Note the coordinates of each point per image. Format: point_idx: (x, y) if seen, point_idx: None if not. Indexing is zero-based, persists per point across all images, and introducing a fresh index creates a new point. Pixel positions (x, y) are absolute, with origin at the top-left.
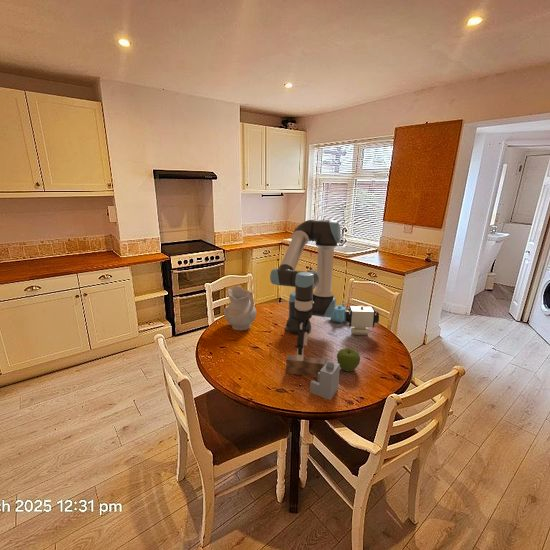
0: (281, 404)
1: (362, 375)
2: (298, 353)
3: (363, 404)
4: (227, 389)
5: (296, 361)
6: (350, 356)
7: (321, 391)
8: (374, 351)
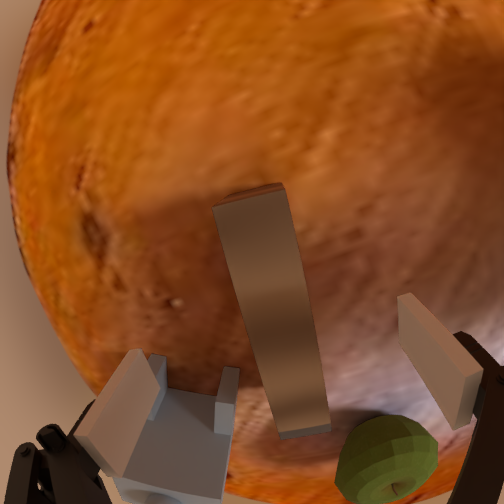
0: (41, 273)
1: None
2: (86, 410)
3: None
4: (25, 46)
5: (235, 285)
6: (359, 499)
7: None
8: None
